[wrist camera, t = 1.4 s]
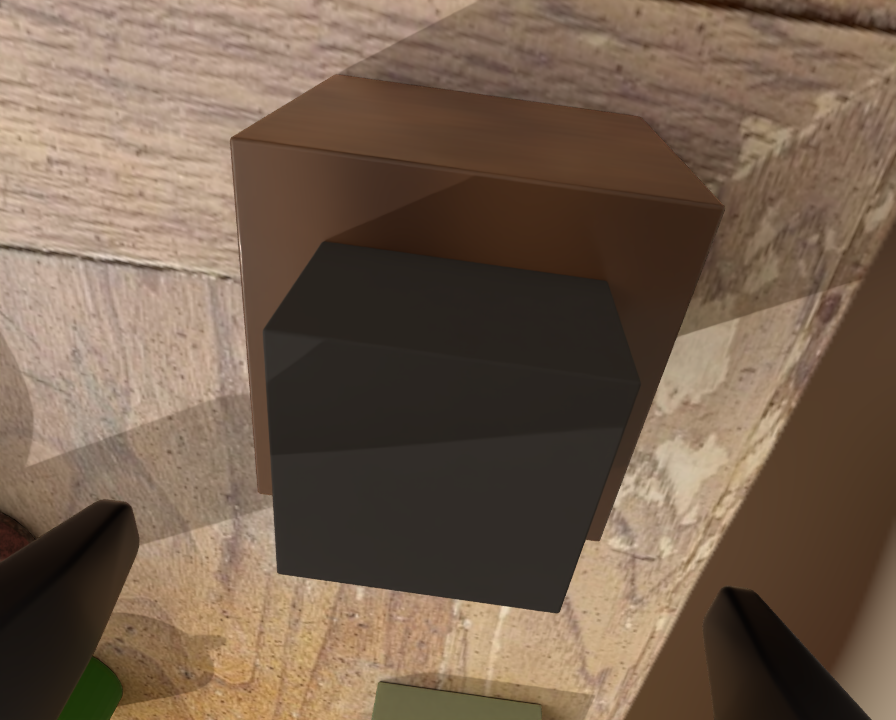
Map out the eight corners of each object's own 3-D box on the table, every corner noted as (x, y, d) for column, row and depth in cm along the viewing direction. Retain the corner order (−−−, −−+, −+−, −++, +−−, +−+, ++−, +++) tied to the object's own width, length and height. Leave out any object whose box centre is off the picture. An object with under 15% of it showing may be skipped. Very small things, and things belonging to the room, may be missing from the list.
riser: (642, 116, 17) (728, 206, 11) (571, 371, 22) (600, 542, 16) (333, 73, 17) (227, 136, 11) (330, 337, 22) (256, 494, 16)
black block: (608, 279, 12) (643, 383, 9) (548, 487, 15) (559, 614, 12) (322, 239, 12) (260, 328, 9) (321, 454, 15) (276, 574, 12)
